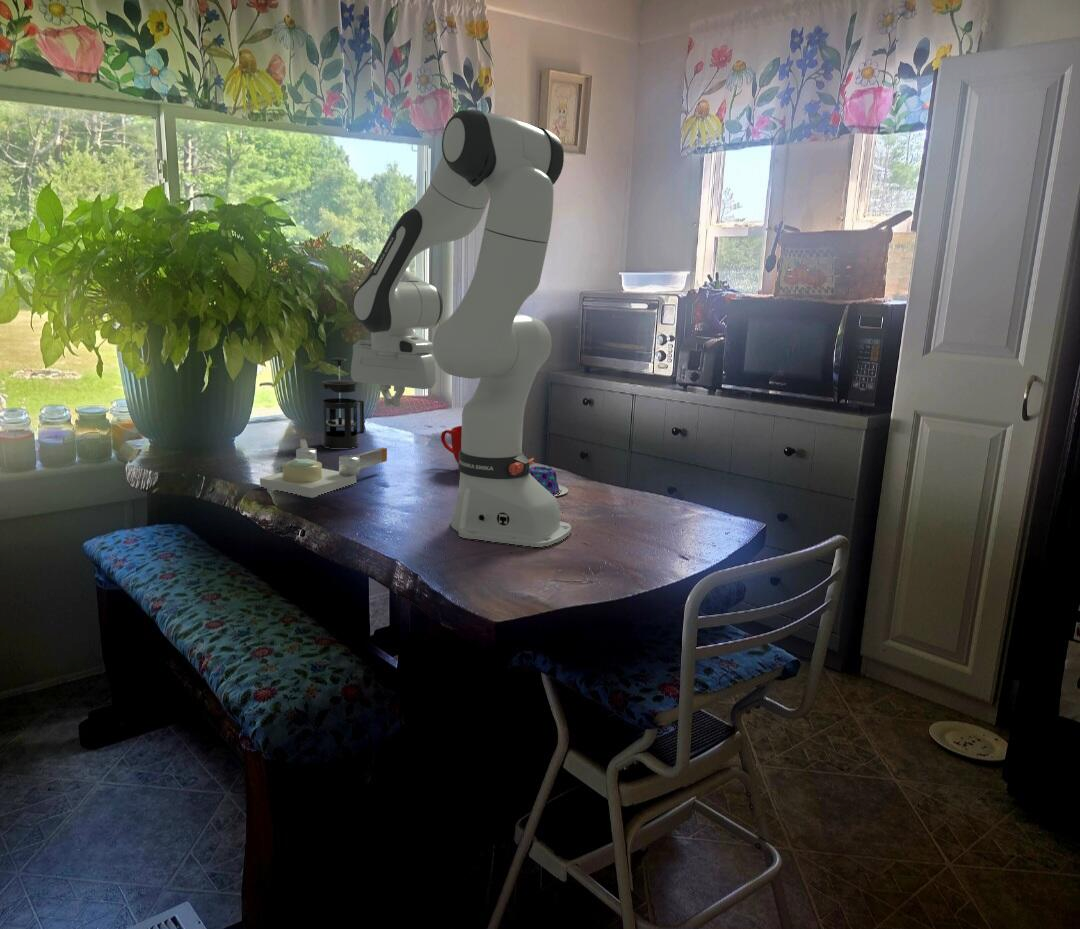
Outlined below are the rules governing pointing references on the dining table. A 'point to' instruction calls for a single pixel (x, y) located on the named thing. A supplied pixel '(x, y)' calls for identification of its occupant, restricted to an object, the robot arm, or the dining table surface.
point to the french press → (340, 436)
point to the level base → (309, 487)
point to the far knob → (306, 451)
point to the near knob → (361, 461)
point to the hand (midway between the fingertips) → (392, 405)
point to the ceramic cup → (453, 440)
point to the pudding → (547, 479)
